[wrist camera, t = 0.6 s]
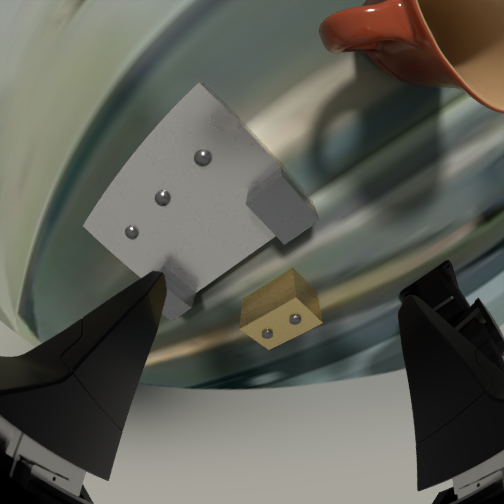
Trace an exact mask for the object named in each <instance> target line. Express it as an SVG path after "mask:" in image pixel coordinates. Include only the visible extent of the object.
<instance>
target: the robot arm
mask: <svg viewBox="0 0 504 504" xmlns="http://www.w3.org/2000/svg"><path fill="white" fill-rule="evenodd" d="M166 296H167V287H166V280H165V274H164V273H163V272H161V271H151V272H150V273H148V274H147V275H145V276H144V277H142V278H140V279H139V280H137V281H136V282H134V283H133V284H131V285H130V286H128V287H127V288H125V289H124V290H122V291H121V292H119V293H118V294H116V295H115V296H113V297H112V298H110V299H109V300H107V301H106V302H104V303H103V304H102V305H100V306H99V307H97V308H96V309H94V310H93V311H91V312H90V313H88V314H87V315H86V316H84V317H83V319H80V320H78V321H77V322H75V323H74V324H73V325H71V326H70V327H68V328H67V329H65V330H64V331H62V332H60V333H59V334H57V335H56V336H54V337H52V338H51V339H49V340H47V341H46V342H44V343H42V344H40V345H39V346H37V347H35V348H34V349H32V350H31V351H29V352H27V353H25V354H23V355H20V356H15V357H1V356H0V504H94V503H93V502H92V500H91V498H90V497H89V495H88V493H87V491H86V489H85V488H84V486H83V480H84V477H85V473H86V472H88V473H91V474H93V475H95V476H97V477H100V478H102V479H104V480H107V481H109V478H110V474H111V470H112V467H113V463H114V459H115V456H116V452H117V449H118V445H119V442H120V438H121V435H122V431H123V428H124V425H125V421H126V419H127V415H128V412H129V409H130V406H131V403H132V400H133V397H134V394H135V391H136V388H137V385H138V382H139V380H140V377H141V374H142V371H143V368H144V365H145V363H146V360H147V357H148V354H149V352H150V349H151V346H152V344H153V341H154V338H155V336H156V333H157V330H158V326H159V322H160V318H161V314H162V311H163V307H164V303H165V299H166ZM401 296H402V298H403V300H404V302H403V304H402V306H401V308H400V309H399V312H398V320H399V327H400V335H401V344H402V351H403V356H404V361H405V366H406V372H407V377H408V383H409V389H410V396H411V403H412V410H413V419H414V426H415V427H414V428H415V439H416V455H417V489H418V491H421V490H424V489H427V488H429V487H432V486H435V485H437V484H440V483H442V482H445V481H447V480H450V479H452V480H453V487H451V488H449V489H446V490H444V491H442V492H439V493H438V495H437V497H436V499H435V500H434V501H433V503H432V504H504V337H503V335H502V333H501V331H500V329H499V327H498V325H497V324H496V322H495V320H494V319H493V317H492V315H491V314H490V312H489V311H488V310H487V308H486V307H485V306H484V304H483V303H482V302H481V300H480V299H479V298H477V299H476V300H475V303H474V304H473V305H472V306H471V307H470V305H469V303H468V302H467V300H466V299H465V297H464V296H463V294H462V292H461V291H460V289H459V288H458V284H457V280H456V276H455V273H454V270H453V266H452V264H451V262H450V261H449V260H447V261H445V262H444V263H442V264H441V265H440V266H438V267H437V268H435V269H434V270H433V271H431V272H430V273H428V274H427V275H425V276H424V277H422V278H421V279H419V280H418V281H416V282H415V283H413V284H412V285H410V286H409V287H407V288H406V289H404V290H403V291H402V292H401Z"/></svg>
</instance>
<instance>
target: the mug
mask: <svg viewBox="0 0 504 504" xmlns="http://www.w3.org/2000/svg"><path fill="white" fill-rule="evenodd" d="M319 35H320V38H321V40H322V42H323V44H324V46H325V48H326V49H327V50H328V51H329V52H331V53H345V52H362V53H366V55H367V56H368V58H369V59H370V60H371V61H372V62H373V63H374V64H375V65H376V66H377V67H378V68H379V69H381V70H382V71H383V72H385V73H386V74H388V75H390V76H392V77H394V78H396V79H398V80H400V81H403V82H406V83H409V84H412V85H416V86H422V87H428V86H431V87H443V88H457V89H460V90H461V91H463V92H465V93H466V94H468V95H469V96H470V97H472V98H473V99H475V100H476V101H477V102H479V103H480V104H482V105H484V106H485V107H487V108H489V109H491V110H493V111H496V112H499V113H504V0H366V2H365V3H364V4H363V5H362V6H360V7H354V8H350V9H346V10H342V11H339V12H337V13H335V14H332V15H330V16H329V17H327V18H326V19H325V20H324V21H323V22H322V23H321V25H320V27H319Z"/></svg>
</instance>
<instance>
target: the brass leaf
mask: <svg viewBox="0 0 504 504" xmlns="http://www.w3.org/2000/svg"><path fill="white" fill-rule="evenodd" d="M322 323H323V321H322V315H321V310H320V304H319V299H318V293H317V292H316V291H315V290H314V289H313V288H312V287H311V286H310V285H309V284H308V283H307V281H306V280H305V279H304V278H303V277H302V276H301V275H300V274H299V273H298V272H297V271H296V270H295V269H294V268H293V267H292V268H291V269H289V270H288V271H286V272H285V273H283V274H281V275H280V276H278V277H277V278H275V279H274V280H272V281H271V282H269V283H267V284H266V285H264V286H263V287H261V288H259V289H258V290H256V291H255V292H253V293H252V294H250V295H248V296H247V297H245V298H244V299H243V302H242V311H241V320H240V330H241V331H243V332H244V333H246V334H247V335H248V336H250V337H251V338H253V339H254V340H255V341H257V342H258V343H260V344H261V345H262V346H264V347H265V348H267V349H268V350H270V349H272V348H274V347H276V346H278V345H280V344H282V343H284V342H286V341H288V340H290V339H292V338H294V337H296V336H298V335H300V334H302V333H304V332H306V331H308V330H310V329H312V328H314V327H316V326H318V325H320V324H322Z"/></svg>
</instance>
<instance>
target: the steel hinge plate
mask: <svg viewBox="0 0 504 504" xmlns="http://www.w3.org/2000/svg"><path fill="white" fill-rule="evenodd" d="M318 221H320V220H319V218H318V215H317V212H316V209H315V206H314V204H313V201H312V200H311V199H310V198H309V196H308V195H307V194H306V193H305V192H304V190H303V189H302V188H301V187H300V186H299V184H298V183H297V182H296V181H295V180H294V178H293V177H292V176H291V175H290V174H289V173H288V171H287V170H286V169H285V168H284V167H283V166H282V165H281V163H280V162H279V161H278V160H277V159H276V158H275V157H274V155H273V154H272V153H271V152H270V151H269V150H268V149H267V148H266V147H265V145H264V144H263V143H262V142H261V141H260V140H259V139H258V138H257V137H256V136H255V135H254V134H253V132H252V131H251V130H250V129H249V128H248V127H247V126H246V125H245V124H244V123H243V122H242V121H241V120H240V119H239V118H238V117H237V116H236V115H235V114H234V113H233V112H232V111H231V110H230V109H229V108H228V107H227V106H226V105H225V104H224V103H223V102H222V101H221V100H220V99H219V98H218V97H217V96H216V95H215V94H214V93H213V92H212V91H211V90H210V89H209V88H208V87H207V86H206V85H205V84H204V83H198V84H197V85H196V86H195V87H194V88H193V89H192V90H191V91H190V92H189V93H188V94H187V95H186V96H185V97H184V98H183V99H182V100H181V101H180V102H179V103H178V104H177V105H176V106H175V107H174V108H173V109H172V110H171V111H170V112H169V113H168V114H167V115H166V117H165V118H164V119H163V120H162V121H161V122H160V123H159V124H158V125H157V126H156V128H155V129H154V130H153V131H152V132H151V133H150V134H149V136H148V137H147V138H146V139H145V140H144V142H143V143H142V144H141V145H140V146H139V148H138V149H137V150H136V151H135V153H134V154H133V155H132V156H131V158H130V159H129V160H128V161H127V163H126V164H125V165H124V167H123V168H122V169H121V171H120V172H119V173H118V175H117V176H116V177H115V179H114V180H113V181H112V183H111V184H110V186H109V187H108V188H107V190H106V191H105V193H104V194H103V196H102V197H101V199H100V200H99V202H98V203H97V205H96V206H95V208H94V209H93V211H92V212H91V214H90V215H89V217H88V219H87V220H86V222H85V223H84V225H83V227H85V228H86V229H87V230H88V231H89V232H90V233H91V234H92V235H93V236H94V237H95V238H96V239H97V240H98V241H99V242H101V243H102V244H103V245H104V246H105V247H106V248H107V249H108V250H109V251H110V252H112V253H113V254H114V255H115V256H116V257H117V258H118V259H120V260H121V261H122V262H123V263H124V264H125V265H126V266H128V267H129V268H130V269H131V270H132V271H134V272H135V273H136V274H137V275H138V276H139V277H141V278H142V277H144V276H145V275H147V274H148V273H150V272H151V271H161V272H163V273H164V274H165V280H166V287H167V296H166V299H165V303H164V307H163V311H162V314H163V315H164V316H165V317H167V318H168V319H169V320H171V321H173V320H175V319H176V318H178V317H179V316H181V315H182V314H184V313H185V312H187V311H188V310H189V309H191V308H192V305H193V302H194V298H195V295H196V293H197V292H198V291H199V290H201V289H202V288H204V287H205V286H206V285H208V284H209V283H211V282H212V281H213V280H215V279H216V278H218V277H219V276H220V275H222V274H223V273H225V272H226V271H228V270H229V269H230V268H232V267H233V266H235V265H236V264H237V263H239V262H240V261H242V260H243V259H244V258H246V257H247V256H249V255H250V254H251V253H253V252H254V251H256V250H257V249H258V248H260V247H261V246H263V245H264V244H265V243H267V242H268V241H270V240H271V239H272V238H274V237H275V236H276V237H277V238H278V239H279V240H280V241H281V242H282V243H283V244H284V245H285V244H287V243H288V242H289V241H291V240H292V239H294V238H295V237H297V236H298V235H300V234H301V233H302V232H304V231H305V230H307V229H308V228H310V227H311V226H312V225H314V224H315V223H317V222H318Z"/></svg>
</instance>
